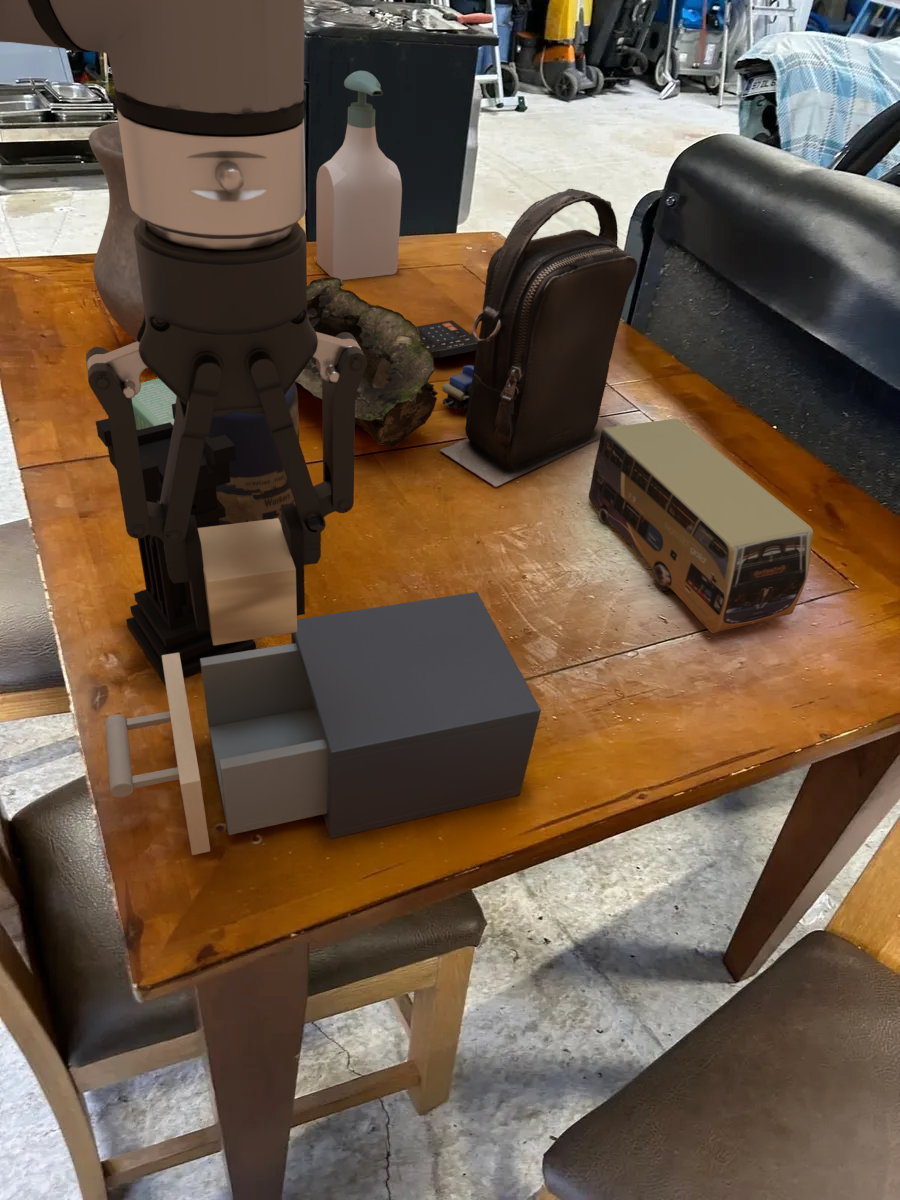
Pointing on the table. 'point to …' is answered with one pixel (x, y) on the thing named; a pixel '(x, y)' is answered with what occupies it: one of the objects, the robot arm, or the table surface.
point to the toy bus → (701, 523)
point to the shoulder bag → (544, 342)
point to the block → (248, 581)
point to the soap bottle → (358, 197)
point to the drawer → (237, 742)
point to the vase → (117, 237)
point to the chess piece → (165, 605)
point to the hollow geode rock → (375, 361)
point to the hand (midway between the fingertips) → (248, 607)
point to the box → (153, 404)
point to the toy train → (459, 389)
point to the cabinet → (416, 710)
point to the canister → (254, 466)
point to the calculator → (446, 339)
